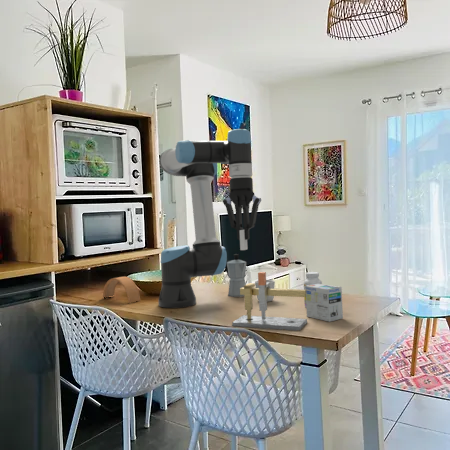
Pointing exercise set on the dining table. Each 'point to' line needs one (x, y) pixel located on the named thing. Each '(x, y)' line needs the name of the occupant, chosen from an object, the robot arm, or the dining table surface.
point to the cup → (272, 284)
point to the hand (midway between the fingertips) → (243, 249)
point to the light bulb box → (324, 302)
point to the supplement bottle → (311, 280)
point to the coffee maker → (236, 276)
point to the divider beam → (250, 291)
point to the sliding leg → (263, 293)
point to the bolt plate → (270, 322)
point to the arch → (127, 284)
